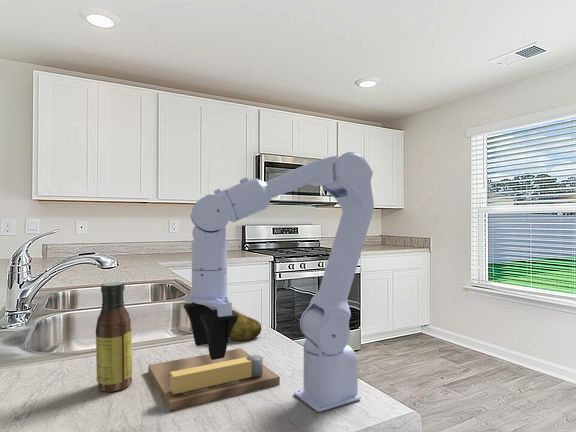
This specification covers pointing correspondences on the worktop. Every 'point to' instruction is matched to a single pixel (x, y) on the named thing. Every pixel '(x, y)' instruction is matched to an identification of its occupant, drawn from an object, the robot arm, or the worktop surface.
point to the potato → (245, 328)
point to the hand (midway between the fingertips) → (209, 351)
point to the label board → (211, 393)
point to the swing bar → (215, 374)
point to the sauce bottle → (113, 340)
